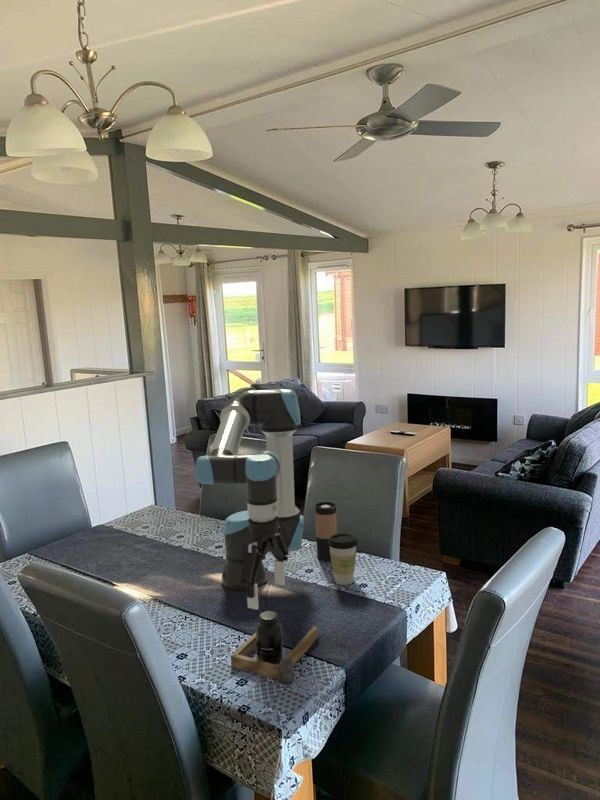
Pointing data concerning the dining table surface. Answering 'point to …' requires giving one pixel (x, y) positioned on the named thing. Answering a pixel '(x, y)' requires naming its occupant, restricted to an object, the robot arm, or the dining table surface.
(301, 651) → the bay
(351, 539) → the coffee cup
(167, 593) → the dining table surface
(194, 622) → the dining table surface
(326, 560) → the travel mug
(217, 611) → the dining table surface
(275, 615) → the supplement bottle
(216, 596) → the dining table surface
